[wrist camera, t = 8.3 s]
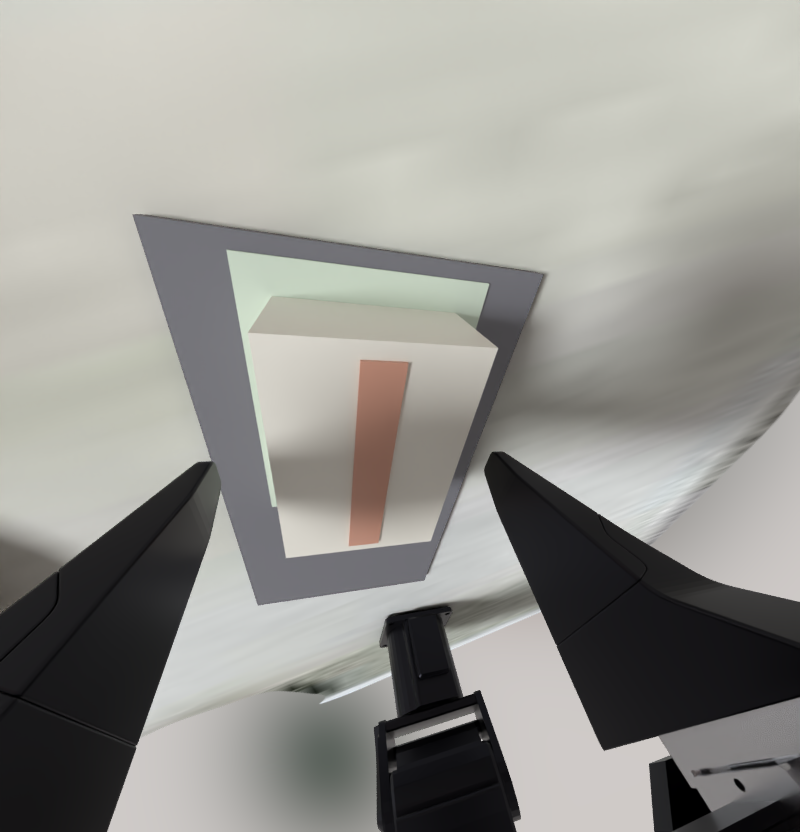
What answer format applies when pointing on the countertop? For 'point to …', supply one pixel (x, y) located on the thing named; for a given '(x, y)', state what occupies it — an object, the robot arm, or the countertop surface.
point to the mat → (236, 385)
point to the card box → (363, 417)
